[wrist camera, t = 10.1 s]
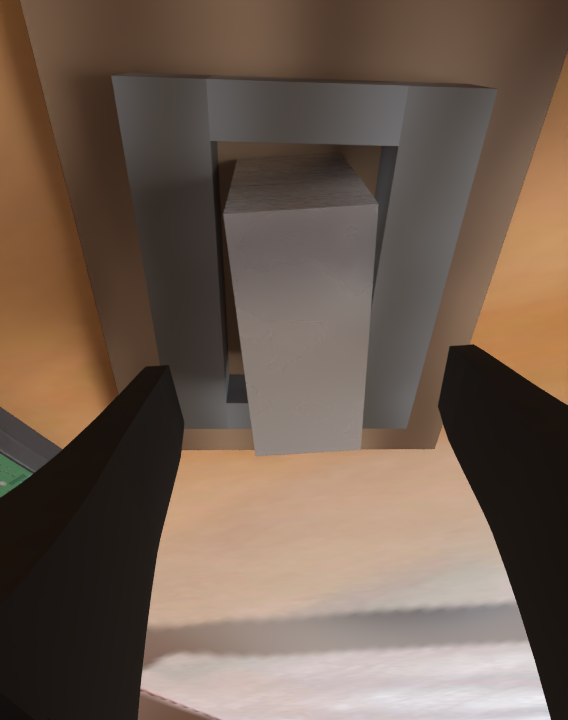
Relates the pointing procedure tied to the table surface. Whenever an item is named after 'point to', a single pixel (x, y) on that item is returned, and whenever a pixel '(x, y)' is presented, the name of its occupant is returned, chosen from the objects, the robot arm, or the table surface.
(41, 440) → the disk drive
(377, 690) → the table surface
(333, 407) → the gray rectangular block
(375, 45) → the slot stand
